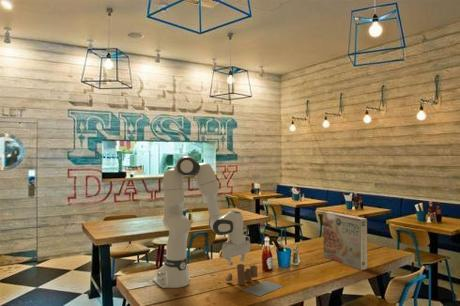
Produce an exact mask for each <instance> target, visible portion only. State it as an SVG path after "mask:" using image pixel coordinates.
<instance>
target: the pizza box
mask: <svg viewBox="0 0 460 306" xmlns="http://www.w3.org/2000/svg"><path fill="white" fill-rule="evenodd" d="M323 258H325V259H328V260H330V261H334V262H337V263H339V264H342V265H345V266H348V267H350V268H353V269H357V270H360V271H364V270H367V269H368V218H365V217H360V216H356V215H350V214H345V213H344V214H343V213H339V212H334V211H323Z"/></svg>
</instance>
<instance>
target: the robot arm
mask: <svg viewBox="0 0 460 306" xmlns="http://www.w3.org/2000/svg"><path fill="white" fill-rule="evenodd" d="M191 176H192V177H194V178H195V181H196V185H197V187H198V190H199V192H200V194H201V196H202V198H203V199H204V201H205V204H206V207H207V211H208V214H209V219H208V226H209V228H210V229H211V230H212V231H213V233H215V234H216V235H217V236H224V235H227V240H226V241H224V242H223V244H222V245H221V246H222V247H221V258H222V259H224V260H226V261H227V262H228V266H229V267H231V266H233V262H232V258H235V257H238V256H241V257H240V258H239V260H240V261H239V262H242V263H243V262H245V257H246V254H248V253H250V251H251V241H250V240H251V238H250V236H248V235H244V231H243V229H244V218H243V214H242V212H240V211H237V210H232V209H231V210H229V211H228V212H227V213H225V214H222V213H221V211H220V208H219V204H218V199H217V197H218V194H219V191H220V190H219V184H218V180H217V177H216V174H215V171H214V169H213V168H212V165H211V164H210V163H208V162H201V163H198V161H197V160H196V159H195V158H194V157H193V156H191V155H188V154H184V155H181V156H180V157H179V158H178V159H177V161H176V164H175V166H174V167H173V168H169V169H166V170H165V171H164V173H163V177H162V178H163V179H162V180H163V181H162V187H163V188H162V189H163V199H164V200H163V201H164V209H163V210H164V211H163V218H162V222H163V226H164V228H165V229H166V230H168V237H167V238H168V239H167V242H166V248H165V249H166V257H164V258H163V260H164V264H163V265H162V266H161V267H159V268H158V269H157V273H156V276H155V277H153V278H152V281H153V282H154V283H155V284H157V285H158V286H159V287H161V288H163V289H164V288H165V289H167V288H168V289H169V288H171V289H176V288H183V287H186V286H188V285H189V284H190V281H191V277H190V272H189V266H188V257H187V244H188V243H187V242H188V237H189V232H190V231H191V226H192V225H191V221H190V220H189V219H190V218H188V217H187V216H186V215H184V205H185V190H184V189H185V188H184V177H191Z"/></svg>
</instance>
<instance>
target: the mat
mask: <svg viewBox="0 0 460 306" xmlns="http://www.w3.org/2000/svg"><path fill="white" fill-rule="evenodd" d="M283 287H284V285H282V284H278V283H275V282H272V281H268V280H264V281H262V282H260V283H257V284H255V285H251V286H249V287H247V288H243V289H241V291H242V292H245V293H248V294H250V295H253V296H256V297H262V296H265V295H268V294H269V293H272V292H274V291H276V290H279V289H281V288H283Z"/></svg>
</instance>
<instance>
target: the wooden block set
mask: <svg viewBox="0 0 460 306" xmlns="http://www.w3.org/2000/svg"><path fill="white" fill-rule="evenodd" d="M236 271H237V284H238V285H239V286H244V285H245V284H246V282H251V281H253V278H258V277H259V276H258V266H257V265H255V264H253V265H249V268H246V269H245V264H242V263H238V264H237V265H236ZM225 281H226V282H231V281H233V274H232V273H231V272H230V273H229V274H228V275H227V276H226V277H225Z"/></svg>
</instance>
